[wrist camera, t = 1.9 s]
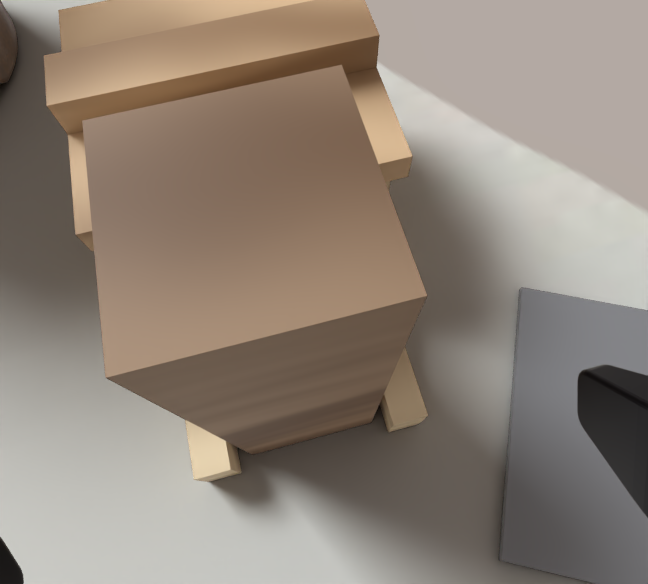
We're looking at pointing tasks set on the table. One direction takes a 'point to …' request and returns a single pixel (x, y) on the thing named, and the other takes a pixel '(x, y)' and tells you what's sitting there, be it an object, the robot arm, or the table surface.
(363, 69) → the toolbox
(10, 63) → the plant pot
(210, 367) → the walnut block
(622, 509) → the felt mat
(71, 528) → the table surface
